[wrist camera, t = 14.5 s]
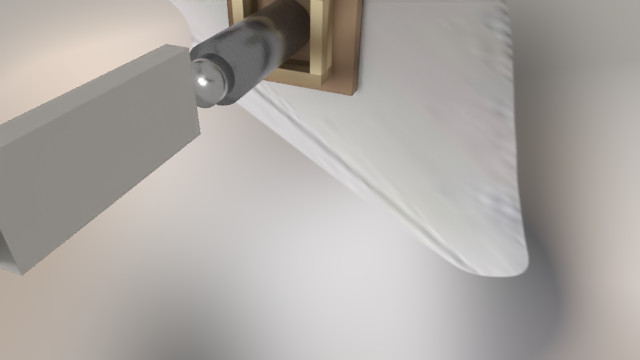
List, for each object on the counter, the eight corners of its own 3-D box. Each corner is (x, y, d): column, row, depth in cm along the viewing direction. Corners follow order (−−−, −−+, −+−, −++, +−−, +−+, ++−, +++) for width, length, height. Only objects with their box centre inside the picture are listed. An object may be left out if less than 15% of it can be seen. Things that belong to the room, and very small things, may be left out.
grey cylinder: (263, -5, 41) (163, 48, 30) (311, 1, 40) (225, 57, 29) (266, 46, 43) (175, 111, 33) (312, 53, 42) (232, 123, 31)
